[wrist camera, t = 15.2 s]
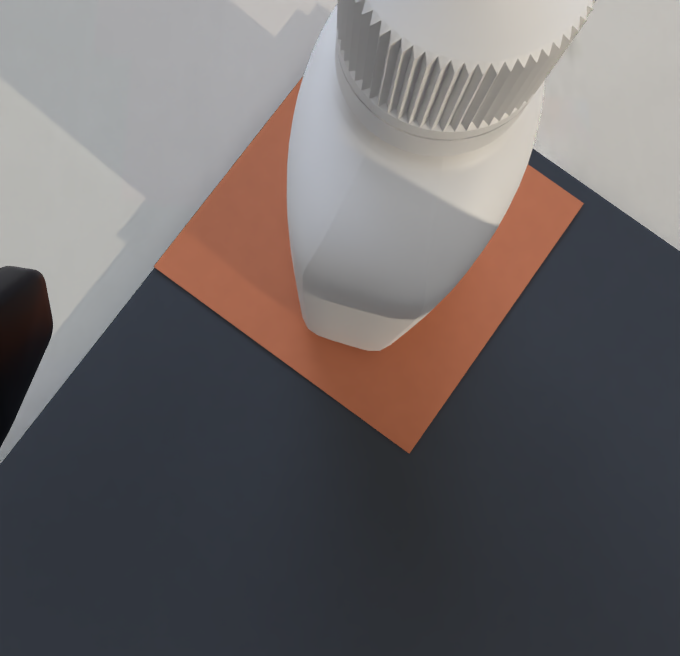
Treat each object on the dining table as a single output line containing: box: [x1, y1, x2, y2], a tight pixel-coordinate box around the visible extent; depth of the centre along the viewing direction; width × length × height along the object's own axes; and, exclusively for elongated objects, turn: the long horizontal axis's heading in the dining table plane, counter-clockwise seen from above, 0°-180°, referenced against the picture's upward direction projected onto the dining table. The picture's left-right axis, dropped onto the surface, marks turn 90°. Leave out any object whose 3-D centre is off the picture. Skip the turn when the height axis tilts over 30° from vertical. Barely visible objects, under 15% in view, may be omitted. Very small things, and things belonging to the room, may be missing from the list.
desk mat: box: [0, 77, 680, 656], centre depth 15 cm, size 20×23×1 cm
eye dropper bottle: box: [287, 0, 596, 351], centre depth 10 cm, size 4×6×12 cm
